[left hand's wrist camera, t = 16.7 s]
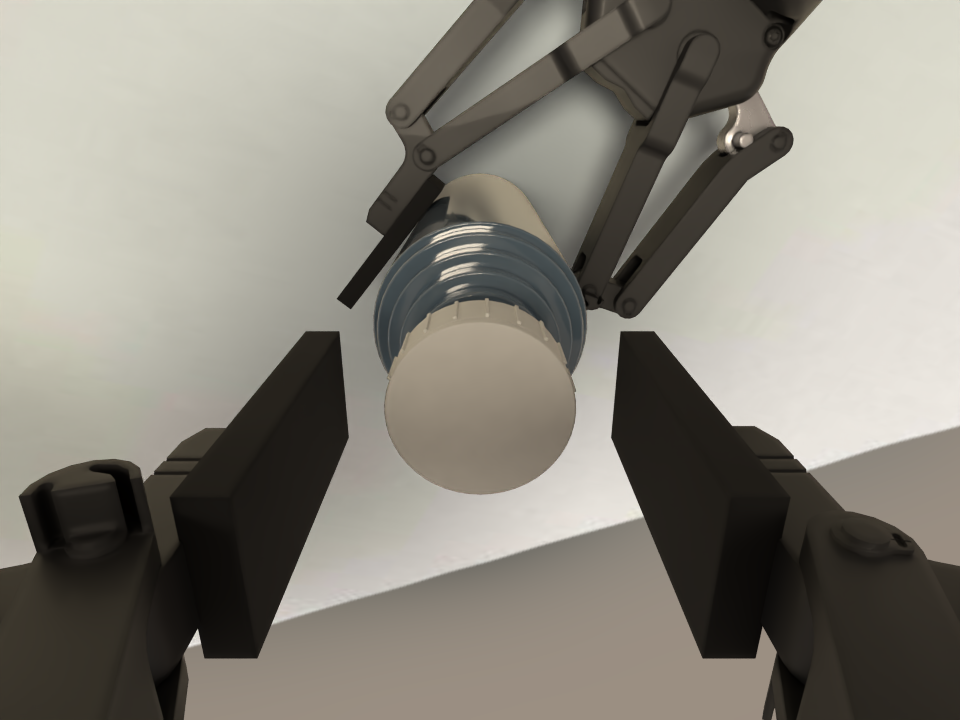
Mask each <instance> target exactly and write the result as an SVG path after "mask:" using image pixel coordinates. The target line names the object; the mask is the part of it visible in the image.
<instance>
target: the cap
mask: <svg viewBox="0 0 960 720" xmlns="http://www.w3.org/2000/svg"><path fill="white" fill-rule="evenodd" d="M565 364H567V361H566V358H565V356H564V353H563V350H562V347H561V345H560V343H559V342H558V343H556V341H555V340H554V338H553V337H552V335H551V334H550V332H549V331H548V330H547V329H546V328H545V326H544V323H543V322H542V321H541V320H540V321H538V320H536V319H535V318H534V317H532V316H531V315H529V314H528V313H526V312H525V311H523V310H520V309H519V307H518V306H517V305H515V306H511V305H508V304H505V303H501V302H495V301H489V298H485V300H474V301H465V302H460V303H459V302H458V301H455V303H454V304H453V305H450V306H447V307H444V308H442V309H440V310H438V311H436V312H434V313H433V314H431V313H428V314H427V317H426V318H425V319H424V320H423V321H422V322H420V323H419V324H418V325H417V326H416V327H415V328H414V329H413V331H412V332H411V333H409V332H408V333H407V334H406V337H405V340H404V343H403V345H402V348H401V350H400V352H399V354H398V357H395V358H394V361H393V363H392V366H391V369H390V372H389V374H388V377H387V379H388V380H389V384H388V387H387V390H386V396H385V404H384V408H385V420H386V426H387V429H388V432H389V436H390V438H391V440H392V442H393V444H394V446H395V448H396V450H397V451H398V453H399V454H400V456H401V457H402V458H403V459H404V461H405V462H406V463H407V464H408V465H409V466H410V467H411V468H412V469H413V470H414V471H415V472H417V473H418V474H419V475H421V476H422V477H423V478H425V479H427V480H428V481H430V482H432V483H434V484H436V485H438V486H441V487H443V488H445V489H449V490H452V491H456V492H461V493H467V494H494V493H500V492H505V491H508V490H512V489H515V488H518V487H520V486H522V485H525V484H527V483H528V482H530V481H532V480H534V479H536V478H537V477H538V476H540V475H541V474H542V473H544V472H545V471H546V470H547V469H548V468H549V467H550V466H551V465H553V464H554V462H555V461H556V460H557V459H558V457H559V456H560V455H561V453H562V452H563V450H564V449H565V447H566V445H567V443H568V441H569V439H570V436H571V434H572V430H573V427H574V423H575V415H576V400H575V394H574V392H576V389H575V386H574V383H573V380H572V377H571V375H570V372H569V369H568V368H566V365H565Z"/></svg>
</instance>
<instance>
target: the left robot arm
mask: <svg viewBox="0 0 960 720" xmlns="http://www.w3.org/2000/svg"><path fill="white" fill-rule="evenodd" d="M348 438H349V435H348V424H347V412H346V401H345V390H344V378H343V367H342V356H341V345H340V333H339V331H306V332H305V333H304V334H303V336H302V337H301V338H300V339H299V341H298V342H297V343H296V344H295V345H294V347H293V348H292V349H291V350H290V351H289V353H288V354H287V355H286V356H285V357H284V359H283V360H282V361H281V362H280V364H279V365H278V366H277V367H276V368H275V370H274V371H273V372H272V373H271V374H270V376H269V377H268V378H267V379H266V381H265V382H264V383H263V384H262V385H261V387H260V388H259V389H258V390H257V391H256V393H255V394H254V395H253V396H252V397H251V399H250V400H249V401H248V402H247V404H246V405H245V406H244V407H243V408H242V410H241V411H240V412H239V413H238V414H237V416H236V417H235V418H234V419H233V421H232V422H231V423H230V424H229V425H228V427H227V428H205V429H203V430H202V431H200V432H198V433H196V434H195V435H193V436H191V437H190V438H188V439H186V440H184V441H183V442H181V443H180V444H179V445H178V446H177V448H176V449H175V450H174V451H173V452H172V453H171V454H170V455H169V456H168V457H167V461H164V462H163V463H162V464H161V465H160V466H159V467H158V468H157V469H156V470H155V471H154V475H151V476H150V477H149V478H148V479H147V480H146V481H145V482H144V483H143V479H142V475H141V471H140V468H139V467H138V466H136V465H135V464H133V463H132V462H129V461H123V460H117V459H108V460H93V461H89V462H85V463H80V464H76V465H71V466H68V467H66V468H63V469H61V470H58V471H55V472H53V473H50V474H48V475H46V476H44V477H43V478H41V479H39V480H38V481H36V482H34V483H32V484H31V485H30V486H29V487H28V488H27V489H26V490H25V491H24V492H23V493H22V494H21V495H20V496H19V499H20V502H21V505H22V508H23V511H24V514H25V517H26V521H27V524H28V527H29V530H30V533H31V536H32V539H33V542H34V545H35V548H36V551H37V553H36V555H35V557H34V559H33V561H32V563H28V564H23V565H18V566H13V567H8V568H3V569H0V720H184V712H185V704H186V696H187V688H188V673H187V667H186V663H185V658H184V652H185V651H186V649H187V647H188V645H189V643H190V642H191V640H192V638H193V636H194V634H195V633H196V631H197V629H198V631H199V635H200V640H201V645H202V649H203V654H204V658H258V656H259V653H260V651H261V648H262V646H263V643H264V641H265V638H266V636H267V634H268V631H269V629H270V626H271V624H272V622H273V619H274V617H275V614H276V612H277V610H278V607H279V605H280V602H281V600H282V598H283V595H284V593H285V590H286V588H287V585H288V583H289V581H290V578H291V576H292V573H293V571H294V569H295V566H296V564H297V561H298V559H299V556H300V554H301V552H302V549H303V547H304V544H305V542H306V540H307V537H308V535H309V532H310V530H311V528H312V525H313V523H314V520H315V518H316V515H317V513H318V511H319V508H320V506H321V503H322V501H323V499H324V496H325V494H326V491H327V489H328V486H329V484H330V482H331V479H332V477H333V474H334V472H335V470H336V467H337V465H338V462H339V460H340V457H341V455H342V453H343V450H344V448H345V445H346V443H347V441H348ZM611 438H612V441H613V443H614V445H615V448H616V450H617V453H618V455H619V457H620V460H621V462H622V465H623V467H624V470H625V472H626V474H627V477H628V479H629V482H630V484H631V486H632V489H633V491H634V494H635V496H636V499H637V501H638V503H639V506H640V508H641V511H642V513H643V515H644V518H645V520H646V523H647V525H648V528H649V530H650V532H651V535H652V537H653V540H654V542H655V544H656V547H657V549H658V552H659V554H660V556H661V559H662V561H663V564H664V566H665V569H666V571H667V573H668V576H669V578H670V581H671V583H672V585H673V588H674V590H675V593H676V595H677V597H678V600H679V602H680V605H681V607H682V610H683V612H684V614H685V617H686V619H687V622H688V624H689V627H690V629H691V631H692V634H693V636H694V639H695V641H696V643H697V646H698V648H699V651H700V653H701V656H702V658H756V654H757V649H758V644H759V640H760V635H761V631H762V626H763V628H764V629H765V631H766V633H767V635H768V636H769V638H770V640H771V642H772V644H773V645H774V647H775V649H776V651H777V654H776V658H775V663H774V667H773V671H772V675H771V680H770V684H769V688H768V692H767V697H766V701H765V705H764V711H763V717H762V719H763V720H771V719H772V715H773V711H774V708H775V710H776V718H777V720H960V566H956V565H951V564H946V563H940V562H935V561H931V560H927V558H926V556H925V554H924V552H923V551H922V549H921V548H920V547H919V546H918V545H917V543H916V542H915V541H914V540H913V539H912V538H911V537H909V536H908V535H906V534H905V533H903V532H902V531H901V530H899V529H898V528H896V527H895V526H892V525H890V524H888V523H886V522H883V521H881V520H879V519H876V518H874V517H870V516H866V515H863V514H859V513H855V512H847V511H845V510H844V509H843V508H842V507H841V506H840V505H839V504H838V503H837V502H836V501H835V500H834V498H833V497H832V496H831V495H830V494H829V493H828V492H827V491H826V490H825V489H824V488H823V487H822V486H821V485H820V483H819V482H818V481H817V480H816V479H815V478H814V477H813V476H812V475H811V474H810V473H806V469H805V467H804V466H803V465H802V464H801V463H800V462H799V461H798V460H797V459H794V456H793V455H792V454H791V452H790V451H789V450H788V449H787V448H786V447H785V446H784V445H783V444H782V443H781V442H780V441H779V440H778V439H776V438H775V437H773V436H771V435H769V434H767V433H766V432H764V431H762V430H760V429H759V428H757V427H755V426H732V425H731V424H730V423H729V422H728V421H727V419H726V418H725V417H724V416H723V414H722V413H721V412H720V411H719V410H718V408H717V407H716V406H715V405H714V404H713V402H712V401H711V400H710V399H709V397H708V396H707V395H706V394H705V393H704V391H703V390H702V389H701V388H700V387H699V385H698V384H697V383H696V382H695V381H694V379H693V378H692V377H691V376H690V374H689V373H688V372H687V371H686V370H685V368H684V367H683V366H682V365H681V364H680V362H679V361H678V360H677V359H676V357H675V356H674V355H673V354H672V353H671V351H670V350H669V349H668V348H667V347H666V345H665V344H664V343H663V342H662V341H661V339H660V338H659V337H658V336H657V334H656V333H655V332H654V331H621V333H620V345H619V356H618V367H617V378H616V390H615V401H614V412H613V424H612V435H611Z"/></svg>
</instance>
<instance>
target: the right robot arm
mask: <svg viewBox="0 0 960 720" xmlns="http://www.w3.org/2000/svg"><path fill="white" fill-rule="evenodd" d="M821 1H822V0H583V9H582V18H581V28H580V32H579V33H578V34H576V35H575V36H573V37H572V38H570V39H569V40H568V41H566V42H565V43H563V44H562V45H560V46H559V47H558V48H556V49H555V50H553V51H552V52H551V53H549V54H548V55H546V56H545V57H543V58H542V59H540V60H539V61H537V62H536V63H535V64H533V65H532V66H530V67H529V68H527V69H526V70H524V71H523V72H521V73H520V74H518V75H517V76H516V77H514V78H513V79H511V80H510V81H508V82H507V83H505V84H504V85H502V86H501V87H499V88H498V89H497V90H495V91H494V92H492V93H491V94H489V95H488V96H486V97H485V98H483V99H482V100H480V101H479V102H477V103H476V104H475V105H473V106H472V107H470V108H469V109H467V110H466V111H464V112H463V113H461V114H460V115H458V116H457V117H456V118H454V119H453V120H451V121H450V122H448V123H447V124H445V125H444V126H442V127H441V128H439V129H438V130H437V131H435V132H434V131H433V130H432V128H431V126H430V124H429V123H428V121H427V119H426V118H425V115H426V113H427V112H428V111H429V110H430V109H431V108H432V107H433V105H434V104H435V103H436V102H437V101H438V100H439V98H440V97H441V96H442V95H443V94H444V93H445V92H446V90H447V89H448V88H449V87H450V86H451V85H452V83H453V82H454V81H455V80H456V79H457V78H458V77H459V75H460V74H461V73H462V72H463V71H464V70H465V69H466V67H467V66H468V65H469V64H470V63H471V62H472V60H473V59H474V58H475V57H476V56H477V55H478V54H479V52H480V51H481V50H482V49H483V48H484V47H485V45H486V44H487V43H488V42H489V41H490V40H491V39H492V37H493V36H494V35H495V34H496V33H497V32H498V31H499V29H500V28H501V27H502V26H503V25H504V24H505V22H506V21H507V20H508V19H509V18H510V17H511V16H512V14H513V13H514V12H515V11H516V10H517V9H518V7H519V6H520V5H521V4H522V3H523V2H524V0H474V1H473V2H472V3H471V4H470V5H469V6H468V8H467V9H466V10H465V11H464V12H463V14H462V15H461V16H460V17H459V18H458V20H457V21H456V22H455V23H454V24H453V25H452V27H451V28H450V29H449V30H448V31H447V33H446V34H445V35H444V36H443V37H442V39H441V40H440V41H439V42H438V43H437V44H436V46H435V47H434V48H433V49H432V50H431V52H430V53H429V54H428V55H427V56H426V58H425V59H424V60H423V61H422V62H421V63H420V65H419V66H418V67H417V68H416V69H415V71H414V72H413V73H412V74H411V75H410V77H409V78H408V79H407V80H406V81H405V83H404V84H403V85H402V86H401V87H400V88H399V90H398V91H397V92H396V93H395V94H394V96H393V97H392V98H391V99H390V100H389V102H388V104H387V106H386V116H387V119H388V121H389V122H390V124H392V125H393V127H394V128H395V130H396V132H397V133H398V135H399V137H400V138H401V140H402V142H403V144H404V146H405V151H406V155H405V160H404V162H403V164H402V166H401V167H400V168H399V170H398V171H397V172H396V174H395V175H394V176H393V178H392V179H391V181H390V182H389V183H388V185H387V186H386V187H385V189H384V190H383V191H382V193H381V194H380V195H379V197H378V198H377V200H376V201H375V202H374V204H373V205H372V206H371V208H370V209H369V212H368V216H367V220H366V222H367V223H368V224H370V225H371V226H372V227H373V228H375V229H376V230H377V231H378V232H380V233H381V234H382V235H384V237H383V238H382V240H381V241H380V242H379V244H378V245H377V246H376V248H375V249H374V250H373V252H372V253H371V254H370V255H369V257H368V258H367V259H366V261H365V262H364V263H363V265H362V266H361V267H360V269H359V270H358V271H357V273H356V274H355V275H354V277H353V278H352V279H351V281H350V282H349V283H348V285H347V286H346V287H345V289H344V290H343V291H342V293H341V294H340V295H339V296H338V298H337V299H338V300H339V301H340V302H342V303H343V304H344V305H346V306H347V307H348V308H350V309H351V308H352V307H353V306H354V305H355V303H356V302H357V301H358V299H359V298H360V297H361V296H362V294H363V293H364V292H365V290H366V289H367V288H368V286H369V285H370V284H371V283H372V281H373V280H374V279H375V277H376V276H377V275H378V273H379V272H380V271H381V270H382V268H383V267H384V266H385V264H386V263H387V262H388V260H389V259H390V258H391V257H392V255H393V254H394V253H395V251H396V250H397V249H398V247H399V246H400V245H401V244H402V242H403V241H404V240H405V238H406V237H407V236H408V234H409V233H410V232H411V231H412V229H413V228H414V227H415V225H416V224H417V223H418V221H419V220H420V219H421V218H422V216H423V215H424V214H425V212H426V211H427V210H428V208H429V207H430V206H431V205H432V203H433V202H434V201H435V199H436V198H437V197H438V195H439V194H440V193H441V192H442V190H443V188H444V186H445V184H444V183H443V182H442V181H441V180H439V179H438V178H437V177H436V176H435V175H433V173H434V172H435V171H436V169H437V168H438V167H439V166H441V165H442V164H444V163H445V162H447V161H448V160H450V159H451V158H453V157H454V156H456V155H457V154H459V153H460V152H462V151H463V150H465V149H466V148H468V147H469V146H471V145H472V144H474V143H475V142H477V141H478V140H480V139H481V138H483V137H484V136H486V135H487V134H489V133H490V132H492V131H493V130H495V129H496V128H498V127H499V126H501V125H502V124H504V123H505V122H507V121H508V120H510V119H511V118H513V117H514V116H516V115H517V114H519V113H520V112H522V111H523V110H525V109H526V108H528V107H529V106H531V105H532V104H534V103H535V102H537V101H538V100H540V99H541V98H543V97H544V96H546V95H547V94H549V93H550V92H552V91H553V90H554V89H556V88H557V87H559V86H560V85H562V84H563V83H565V82H566V81H568V80H570V79H571V78H573V77H574V76H576V75H577V74H579V73H580V72H582V71H583V70H584V71H585V72H586V73H587V74H588V75H589V76H590V77H591V78H592V79H593V80H594V81H595V82H596V83H598V84H600V85H602V86H604V87H606V88H608V89H610V90H612V91H613V92H614V93H615V95H616V96H617V98H618V100H619V102H620V103H621V105H622V107H623V108H624V109H625V110H626V111H627V112H628V113H629V114H630V115H631V116H632V117H633V118H634V121H633V123H632V126H631V128H630V130H629V133H628V135H627V138H626V145H625V148H624V150H623V152H622V155H621V157H620V159H619V162H618V164H617V166H616V168H615V171H614V173H613V175H612V178H611V180H610V182H609V184H608V187H607V189H606V191H605V194H604V196H603V198H602V200H601V203H600V205H599V207H598V209H597V212H596V214H595V216H594V219H593V221H592V223H591V225H590V228H589V230H588V232H587V235H586V237H585V239H584V241H583V244H582V246H581V248H580V251H579V253H578V255H577V257H576V260H575V262H574V264H573V267H572V269H571V270H572V272H573V274H574V275H575V277H576V279H577V281H578V284H579V286H580V288H581V291H582V294H583V298H584V301H585V307H586V310H594V309H598V308H603V309H606V310H609V311H612V312H615V313H618V314H619V315H620V316H621V317H623V318H633V317H636V316H637V315H638V314H639V313H640V312H641V311H642V309H643V308H644V307H645V306H646V304H647V303H648V302H649V301H650V300H651V298H652V297H653V296H654V295H655V293H656V292H657V291H658V290H659V288H660V287H661V286H662V285H663V284H664V282H665V281H666V280H667V279H668V277H669V276H670V275H671V274H672V272H673V271H674V270H675V269H676V268H677V266H678V265H679V264H680V263H681V261H682V260H683V259H684V258H685V256H686V255H687V254H688V253H689V252H690V250H691V249H692V248H693V247H694V245H695V244H696V243H697V242H698V241H699V239H700V238H701V237H702V236H703V234H704V233H705V232H706V231H707V229H708V228H709V227H710V226H711V225H712V223H713V222H714V221H715V220H716V218H717V217H718V216H719V215H720V213H721V212H722V211H723V210H724V209H725V207H726V206H727V205H728V204H729V202H730V201H731V200H732V199H733V197H734V196H735V195H736V194H737V193H738V191H739V190H740V189H741V188H742V186H743V185H744V184H745V183H746V181H747V180H749V179H750V178H752V177H753V176H755V175H756V174H758V173H759V172H761V171H762V170H764V169H765V168H767V167H768V166H770V165H771V164H773V163H774V162H776V161H777V160H779V159H780V158H782V157H783V156H785V155H786V154H787V153H788V152H789V151H790V149H791V147H792V145H793V135H792V132H791V131H790V130H789V129H788V128H785V127H776V126H775V124H774V122H773V120H772V118H771V116H770V114H769V112H768V110H767V108H766V106H765V104H764V102H763V100H762V98H761V96H760V94H759V92H758V90H759V89H760V87H761V86H762V84H763V81H764V79H765V75H766V72H767V69H768V66H769V64H770V62H771V60H772V58H773V56H774V55H775V53H776V52H777V50H778V49H779V48H780V47H781V46H782V45H783V44H784V43H785V42H786V40H787V39H788V38H789V37H790V36H791V35H792V34H793V33H794V32H795V31H796V29H797V28H798V27H799V26H800V25H801V24H802V23H803V22H804V20H805V19H806V18H807V17H808V16H809V15H810V14H811V13H812V11H813V10H814V9H815V8H816V7H817V6H818V5H819V4H820V2H821ZM724 108H728V110H729V119H728V122H727V124H726V125H725V127H724V128H723V129H722V130H721V131H720V132H719V134H718V137H717V146H718V150H716V151H715V152H714V153H713V154H712V155H710V156H709V157H708V158H707V159H706V160H705V161H704V162H703V164H702V165H701V166H700V167H699V168H698V169H697V171H696V172H695V173H694V175H693V176H692V177H691V178H690V180H689V181H688V182H687V184H686V185H685V186H684V187H683V189H682V190H681V191H680V193H679V194H678V195H677V196H676V198H675V199H674V200H673V202H672V203H671V204H670V205H669V207H668V208H667V209H666V210H665V212H664V213H663V214H662V216H661V217H660V218H659V219H658V221H657V222H656V223H655V225H654V226H653V227H652V228H651V230H650V231H649V232H648V234H647V235H646V236H645V237H644V239H643V240H642V241H641V243H640V244H639V245H638V246H637V248H636V249H635V250H634V252H633V253H632V254H631V255H630V257H629V258H628V259H627V261H626V262H625V263H624V264H623V266H622V267H621V268H620V270H619V271H618V272H617V273H616V275H615V276H614V277H613V278H611V276H612V273H613V271H614V269H615V267H616V265H617V263H618V260H619V258H620V256H621V254H622V252H623V250H624V247H625V245H626V243H627V241H628V239H629V237H630V235H631V232H632V230H633V228H634V226H635V224H636V222H637V219H638V217H639V215H640V213H641V211H642V209H643V206H644V204H645V202H646V200H647V198H648V196H649V194H650V191H651V189H652V187H653V185H654V183H655V181H656V178H657V176H658V174H659V172H660V170H661V168H662V166H663V163H664V161H665V160H666V158H667V157H668V156H669V155H670V154H671V152H672V151H673V150H674V148H675V146H676V144H677V142H678V140H679V137H680V135H681V133H682V131H683V129H684V127H685V125H686V122H687V120H688V118H691V117H695V116H699V115H702V114H706V113H709V112H713V111H717V110H720V109H724Z"/></svg>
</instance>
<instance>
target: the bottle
mask: <svg viewBox="0 0 960 720" xmlns="http://www.w3.org/2000/svg"><path fill="white" fill-rule="evenodd" d="M485 298H489V301H495V302H501V303H505V304H508V305H511V306H515V305H517V306H518V307H519V309H520V310H523V311H525V312H526V313H528V314H529V315H531V316H532V317H534V318H535V319H536V320H538V321H540V320H541V321H542V322H543V323H544V326H545V328H546V329H547V330H548V331H549V332H550V334H551V335H552V337H553V338H554V340H555V341H556V343H558V342H559V343H560V345H561V347H562V350H563V353H564V356H565V358H566V361H567V364H565V365H566V368H568V369H569V372H570V375H572V374H573V372H574V370H575V369H576V367H577V365H578V362H579V360H580V357H581V355H582V352H583V348H584V344H585V339H586V332H587V314H586V307H585V301H584V298H583V294H582V291H581V288H580V286H579V284H578V281H577V279H576V277H575V275H574V274H573V272H572V270H571V269H570V267H569V265H568V264H567V262H566V260H565V259H564V257H563V255H562V254H561V252H560V251H559V249H558V247H557V246H556V244H555V242H554V241H553V239H552V237H551V236H550V234H549V233H548V231H547V229H546V228H545V226H544V224H543V223H542V221H541V219H540V218H539V216H538V215H537V213H536V211H535V210H534V208H533V206H532V205H531V203H530V201H529V200H528V198H527V197H526V196H525V195H524V193H523V192H522V191H521V190H520V189H519V188H518V187H517V186H515V185H514V184H512V183H511V182H509V181H507V180H505V179H503V178H501V177H498V176H495V175H490V174H470V175H465V176H462V177H459V178H457V179H455V180H453V181H451V182H449V183H448V184H446V185H445V186H444V188H443V190H442V192H441V193H440V194H439V195H438V197H437V198H436V199H435V201H434V202H433V203H432V205H431V206H430V207H429V208H428V210H427V211H426V212H425V214H424V215H423V216H422V218H421V219H420V220H419V222H418V223H417V225H416V226H415V228H414V230H413V231H412V233H411V235H410V236H409V238H408V240H407V241H406V243H405V245H404V246H403V248H402V249H401V251H400V253H399V254H398V256H397V258H396V259H395V261H394V263H393V264H392V266H391V268H390V269H389V271H388V272H387V274H386V276H385V277H384V280H383V282H382V284H381V287H380V289H379V292H378V295H377V299H376V302H375V309H374V316H373V321H374V337H375V343H376V347H377V350H378V354H379V357H380V359H381V361H382V364H383V366H384V368H385V370H386V371H387V373H388V374H389V372H390V369H391V366H392V363H393V361H394V358H395V357H398V354H399V352H400V350H401V348H402V345H403V343H404V340H405V337H406V334H407V333H408V332H409V333H411V332H412V331H413V329H414V328H415V327H416V326H417V325H418V324H419V323H420V322H422V321H423V320H424V319H425V318H426V317H427V314H428V313H431V314H433V313H434V312H436V311H438V310H440V309H442V308H444V307H447V306H450V305H453V304H454V303H455V301H458V302H459V303H460V302H465V301H474V300H485Z"/></svg>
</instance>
